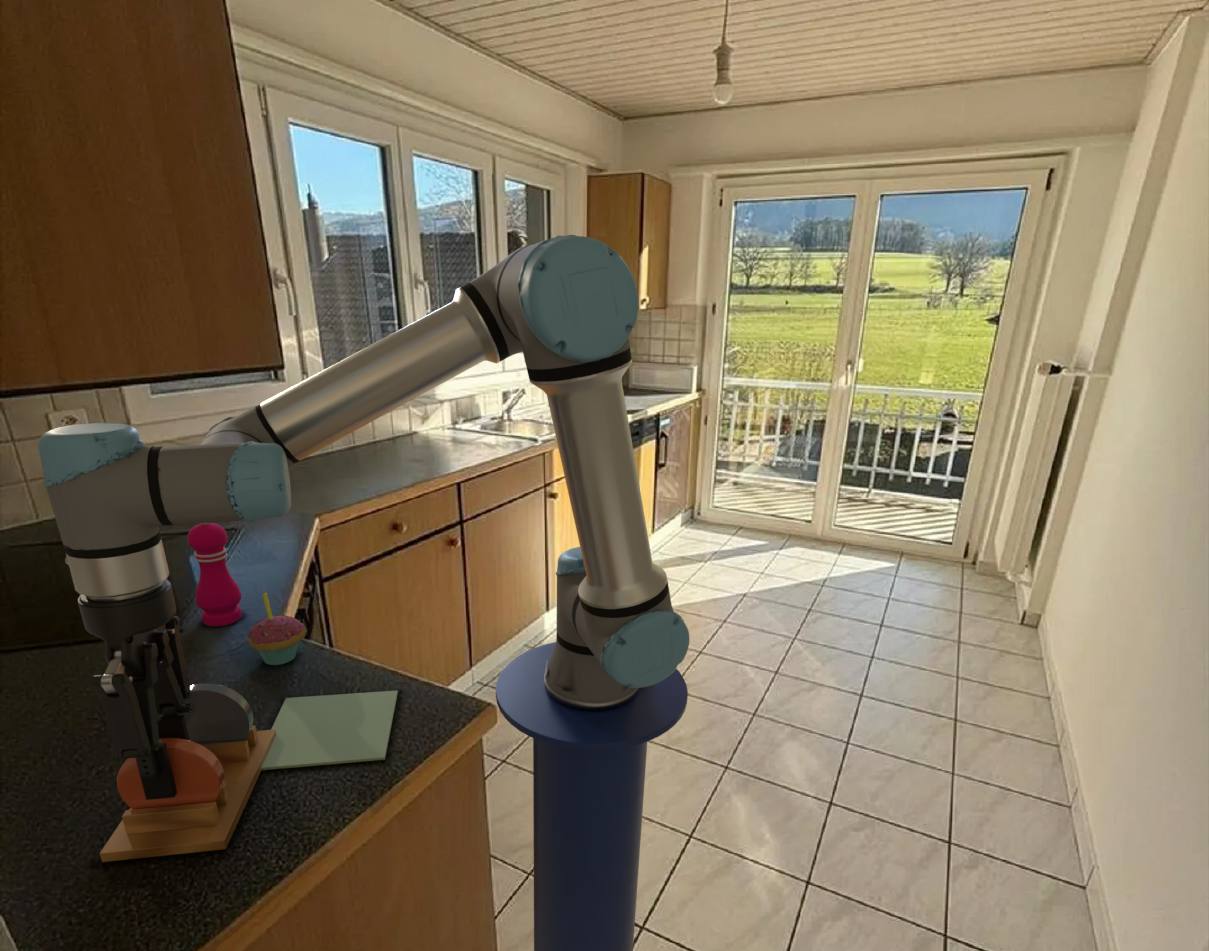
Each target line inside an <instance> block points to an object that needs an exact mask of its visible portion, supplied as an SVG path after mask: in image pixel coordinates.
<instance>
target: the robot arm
mask: <svg viewBox="0 0 1209 951" xmlns="http://www.w3.org/2000/svg"><path fill="white" fill-rule="evenodd" d="M638 314H639V293H638V288H637V284H636V280H635V278H634V275H633V272H632V270H631V269H630V267H629V265H628V264H627V263H626V261H625V260H624V258H623V257H622V255H620V254H619V252H617V251H615V249H613V248H612V247H611V246H609V245H608V244H606V243H604V242H603V241H601V240H599V239H596V238H593V237H589V236H583V235H581V236H580V235H575V234H566V235H557V236H555V237H552V238H549V239H545V240H541V241H539V242H533V243H529V244H526V245H524V246H522V247H519V248H518V249H515V251H513V252H512V253H510V254H509V255H507V256H506V257H504V258H503V259H502V260H500V261H499V262H498V263H496V264H494V266H492V267H490V268H489V269H488V270H487V271H485V272H483V273H481V274H480V275H479V276H477V277H475V278H473V280H471V281H469V282H467V283H466V284H463V285H462V286H459V287H458V288H456V289H455V292H454V296H453V300H452V301H451V302H449V303H447V304H445V305H444V306H442V307H440V308H438V309H436V310H434V311H432V312H430V313H429V314H426V315H425V316H423V317H421V318H419V319H417V320H415V321H413V322H411V323H410V324H408V325H405V326H403V327H402V328H400V329H397V330H395V331H394V332H392V333H391V334H389V335H386V336H385V337H383V338H381V339H379V340H377V341H375V342H373V343H371V344H370V345H368V346H366V347H364V348H362V349H360V350H358V351H356V352H355V353H353V354H351V355H349V356H347V357H345V358H343V359H341V360H340V361H337V362H336V363H334V364H332V365H330V366H328V367H327V368H325V369H322V370H321V371H319V372H317V373H315V374H313V375H310V376H309V377H307V378H306V379H303V380H302V381H299V382H298V383H296V384H294V385H292V386H290V387H288V388H287V389H285V390H282V391H281V392H279V393H277V394H276V395H273V396H271V397H270V398H268V399H266V400H263V401H261V402H260V403H259V404H258V405H255V406H254V407H251V408H249V409H246V410H245V411H243V412H241V413H239V414H238V415H235V416H229V417H226V418H224V419H222V420H220V421H218V422H217V423H215V424H214V425H212V426H211V427H210V428H209V429H208V431H207V432H206V433H205V435H204V437H203V439H202V440H201V441H200V442H199V444H191V445H188V444H187V445H171V446H170V445H169V446H162V445H160V446H155V445H145V444H144V441H143V440H142V439H141V437H140V433H139V431H138V429H136V427H134V426H132V425H130V424H126V423H110V422H94V423H81V424H80V423H79V424H71V425H64V426H59V427H56V428H52V429H49V430H48V431H46V432H44V433H42V435H41V436H40V437H39V439H38V442H37V447H38V448H37V449H38V452H39V458H40V463H41V468H42V473H43V479H44V480H43V487H45V488H46V491H47V495H48V499H49V501H50V504H51V508H52V512H53V516H54V518H55V522H56V525H57V529H58V531H59V535H60V538H61V541H62V547H63V548H62V549H63V551H64V553H65V555H66V556H65V558H64V563H65V564H66V565H68V567H69V571H70V576H71V579H72V583H73V587H74V591H75V592H76V593H78V594H79V596H77V604H78V607H79V611H80V615H81V618H82V622H83V627H84V629H85V630H86V632H87V633H89V635H93V636H95V637H97V638H99V639H101V640H102V641H104V645H105V646H104V647H105V651H104V652H105V654H104V657H105V661H106V663H107V664H108V665H107V667H106V669H105V671H104V673H103V674H94V675H93V676H92V677H91V682H90V683H91V687H92V689H93V691H95V693H96V695H97V697H99V699H100V703H101V707H102V709H103V712H104V716H105V720H106V723H107V727H108V729H109V733H110V737H111V740H112V743H113V746H114V750H115V753H116V756H117V759H119V760H123V759H125V760H127V758H135V759H136V763H137V766H138V770H139V774H140V778H141V782H142V786H143V789H144V793H145V797H146V800H152V799H163V798H174V797H175V796H176V794H177V789H176V785H175V781H174V776H173V772H172V768H171V764H170V760H169V756H168V751H167V747H166V743H165V742H161V743H160V741H159V739H163V738H179V739H185V740H189V741H190V739H189V735H188V730H187V726H186V721H185V717H184V715H183V713H187V712H192V710H193V703H185V701H184V699H189V698H190V696H191V689H190V686H191V685H190V679H189V674H188V670H187V664H186V659H185V654H184V649H183V644H182V640H181V639H182V638H181V622H180V617H179V616H178V615H176V613H177V605H176V601H175V596H174V591H173V587H172V583H171V581H170V580H168V577H169V576H170V570H169V565H168V561H167V557H166V553H165V548H164V544H163V540H162V535H161V532H160V527H161V526H164V527H165V526H176V525H177V526H178V525H179V526H180V525H195V524H196V525H197V524H200V523H228V522H243V521H245V522H257V521H259V520H265V519H270V518H271V519H272V518H277V517H278V518H279V517H283V516H285V515H287V514H288V513H289V512H290V510H291V507H292V488H291V478H290V471H289V468H290V467H292V466H294V465H295V464H297V463H299V462H300V461H302V460H303V459H306V458H308V457H309V456H311V455H314V454H315V453H317V452H319V451H321V450H322V449H324V448H326V447H328V446H329V445H332V444H333V443H335V442H337V441H339V440H341V439H343V438H345V437H346V436H348V435H350V434H352V433H353V432H355V431H358V430H359V429H361V428H363V427H365V426H367V425H369V424H370V423H372V422H373V421H376V420H378V419H379V418H381V417H383V416H386V414H388V413H391V412H392V411H394V410H396V409H397V408H400V407H402V406H403V405H406V404H407V403H409V402H411V401H413V400H415V399H416V398H418V397H420V396H422V395H424V394H425V393H427V392H429V391H431V390H433V389H434V388H436V387H438V386H440V385H442V384H445V383H446V382H448V381H449V380H451V379H453V378H455V377H456V376H459V375H460V374H462V373H464V372H466V371H467V370H469V369H472V368H474V367H475V366H477V365H479V364H480V363H481V364H482V363H483V362H490V363H493V364H498V363H501V362H502V361H504V360H506V359H508V358H510V357H512V356H514V355H517V354H520V353H522V356H523V358H524V363H525V368H526V371H527V376H528V380H529V383H531V385H534V386H535V387H537V388H538V389H540V390H541V391H543V392H544V393H545V395H546V398H547V402H548V403H547V404H548V407H549V412H550V416H551V419H552V420H551V421H552V424H553V430H554V434H555V438H556V443H557V448H558V452H559V457H560V462H561V466H562V471H563V475H564V480H565V484H566V488H567V493H568V497H569V502H570V507H571V510H572V511H571V512H572V517H573V521H574V525H575V529H576V534H577V539H578V544H579V546H576V547H573V548H570V549H567V550H565V551H563V552H562V553H561V554H559V556H558V559H557V566H556V572H555V576H556V639H555V640H556V641H555V642H556V643H555V646H554V649H553V651H552V654H551V657H550V659H549V662H548V660H547V663H546V671H545V676H544V685H545V690H546V692H547V694H548V695H549V696H550V697H551V698H552V699H553V700H554V701H556V702H557V703H559V704H561V705H563V706H565V707H568V708H571V709H575V710H580V711H590V712H598V711H607V710H612V709H616V708H619V707H622V706H624V705H626V704H628V703H629V702H631V701H632V700H633V699H634V698H635V697H636V696H637V694H638V692H639V689H640V688H643V687H648V686H651V685H654V684H656V683H659V682H661V681H662V680H664V679H665V678H667V677H668V676H669V675H671V674H672V673H673V672H674V671H675V670H676V669H677V667H678V666H679V665H680V664H681V663H683V661H684V659H685V657H686V655H687V653H688V651H689V646H690V631H689V628H688V626H687V624H686V622H685V619H683V617H682V616H681V615H680V614H679V613H677V612H675V611H674V608H673V605H672V600H671V593H670V586H669V581H668V575H667V573H666V570H664V569H663V568H662V567H661V566H659V565H657V564H656V563H654V562H653V558H652V557H653V556H652V552H651V546H650V540H649V533H648V529H647V528H648V527H647V522H646V517H645V510H644V505H643V499H642V492H641V487H640V481H639V476H638V470H637V469H638V468H637V464H636V459H635V458H636V457H635V451H634V445H633V442H632V441H633V440H632V434H631V427H630V423H629V415H628V411H627V410H628V409H627V404H626V399H625V393H624V387H623V382H622V381H623V376H624V375H625V373H626V372H627V370H628V369H629V368H630V366H631V365H632V363H633V359H632V358H633V357H632V351H631V344H630V335H631V333H632V331H633V328H635V326H636V323H637V319H638ZM162 714H163V717H161V716H158V715H162Z"/></svg>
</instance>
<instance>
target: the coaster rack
mask: <svg viewBox="0 0 1209 951" xmlns="http://www.w3.org/2000/svg"><path fill="white" fill-rule="evenodd" d="M275 736H276V730H275V729H274V730H271V729H265V730H257V726H256V725H254V724H253V726H252V729H251V731H250V733H249V735H248V737H247V739H246V740H245V741H234V742H221V743H209V744H200V745H202V746H204V747H205V748H207V749H208V750H210V751H211V752H212V753H213V754H214V755H215V756H216V757H217V758H218V760H219V761H220V763H221V765H222V767H223V771H224V784H223V787H222V789H221V791H220V793H219V795H218V797H217V799H216V801H215V802H209V803H198V804H187V805H177V806H166V807H155V808H144V809H134V810H133V809H131V808H130V807H129V809H126V810H125V811H124V812H123V814H122V816H121V821H120V822H119V824H118V826H117V827H116V829H115V830H114V831H113V833H112V834H111V836H110V837H109V839H108V840H107V841H106V843H105V844H104V846H103V848H102V849H101V851H100V852H99V857H100V860H101V863H108V862H117V861H126V860H137V859H145V858H154V857H165V856H173V855H182V854H184V855H185V854H192V853H202V852H203V853H204V852H211V851H222V850H227V848H228V845H229V843H230V841H231V839H232V836H233V835H234V832H235V830H236V828H237V825H238V823H239V822H240V819H241V816H242V814H243V812H244V810H245V808H246V806H247V803H248V801H249V799H250V797H251V794H252V792H253V790H254V788H255V786H256V783H257V781H258V779H259V777H260V774H261V772H262V770H261V767H262V765H263V763H264V760H265V758H266V756H267V754H268V752H269V749H270V747H271V745H272V743H273V741H274V738H275Z"/></svg>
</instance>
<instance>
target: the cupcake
mask: <svg viewBox="0 0 1209 951" xmlns="http://www.w3.org/2000/svg"><path fill="white" fill-rule="evenodd" d="M261 590H262V598H263V603H264V607H265V610H266V614H267V617H264V618H263V619H260V621H258V622H255V624H253V625H252V627H251V628H250V629H249V631H248V634H247V635H248V636H247V637H248V639H247V640H248V641H247V642H248V645H249V647H251V648H253V649H255V650H256V651H257V653H258V654H259V655H260V657H261V659H262V660H263V662H264V663H265V664H266V665H270V666H279V665H284V664H287V663H289V662H291V661H293V660H294V659H295V658H296V655H297V652H298V651H297V650H298V646H299V643H300V641H301V640H304V639H305V637H306V636H307V629H306V627H305V624H304V623H303V622H302V621H301V620H299V619H297V618H296V617H293V616H291V615H290V616H289V615H273V612H272V608H271V605H270V600H269V596H268V593H267V592H265V589H264V588H262V589H261Z"/></svg>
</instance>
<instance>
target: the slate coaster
mask: <svg viewBox="0 0 1209 951" xmlns="http://www.w3.org/2000/svg"><path fill="white" fill-rule="evenodd" d="M190 689H191V696H190V698H189V699H184V701H185V703H193V710H192V712H187V713H183V715H184V717H185V721H186V726H187V730H188V735H189V739H190V741H193V742H195V743H198V744H209V743H221V742H234V741H245V740H246V739H247V737H248V735H249V733H250V731H251V729H252V726H253V725H254V714H253V713H254V712H253V710H252V708H251V705H250V704H249V702H248V701H247V700H246V698H245V697H243V696H242V695H241V694H240V693H239V692H237V691H236V690H234V689H232V688H230V687H228V686H225V685H221V684H217V683H211V682H207V683H197V684H192V685H190ZM160 717H163V714H160Z"/></svg>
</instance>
